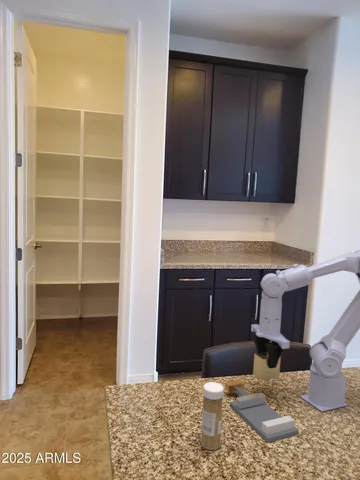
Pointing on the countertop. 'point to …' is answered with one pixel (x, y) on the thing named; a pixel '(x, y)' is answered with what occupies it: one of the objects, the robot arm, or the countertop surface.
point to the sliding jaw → (244, 395)
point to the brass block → (265, 367)
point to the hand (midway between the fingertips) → (267, 364)
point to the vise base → (262, 417)
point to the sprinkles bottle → (212, 415)
